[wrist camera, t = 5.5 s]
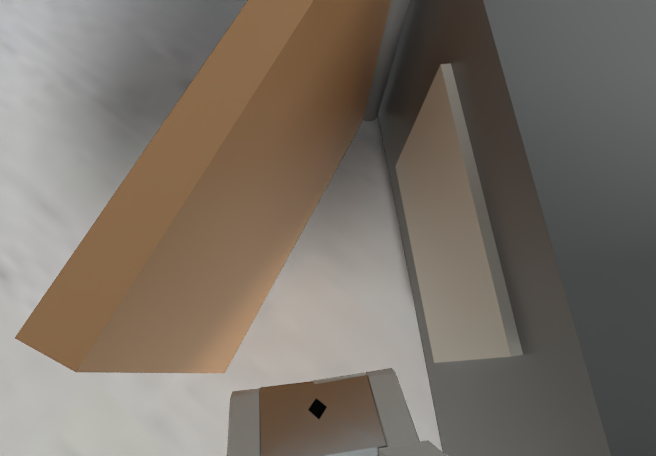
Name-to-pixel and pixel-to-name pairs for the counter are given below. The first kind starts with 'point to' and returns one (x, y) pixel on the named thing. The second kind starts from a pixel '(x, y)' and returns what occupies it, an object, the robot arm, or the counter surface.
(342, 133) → the side door
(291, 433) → the robot arm
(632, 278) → the camera box
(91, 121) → the counter surface
